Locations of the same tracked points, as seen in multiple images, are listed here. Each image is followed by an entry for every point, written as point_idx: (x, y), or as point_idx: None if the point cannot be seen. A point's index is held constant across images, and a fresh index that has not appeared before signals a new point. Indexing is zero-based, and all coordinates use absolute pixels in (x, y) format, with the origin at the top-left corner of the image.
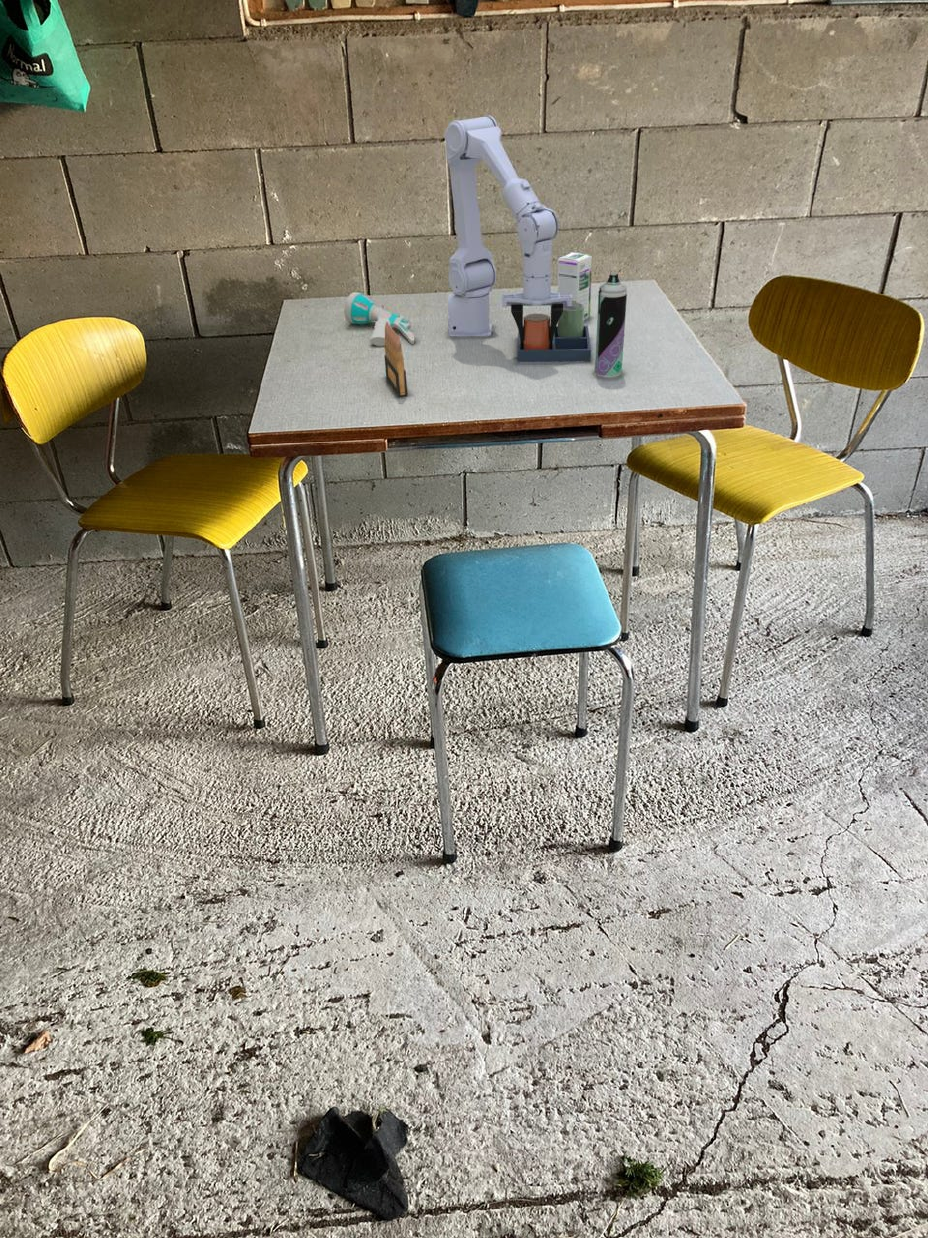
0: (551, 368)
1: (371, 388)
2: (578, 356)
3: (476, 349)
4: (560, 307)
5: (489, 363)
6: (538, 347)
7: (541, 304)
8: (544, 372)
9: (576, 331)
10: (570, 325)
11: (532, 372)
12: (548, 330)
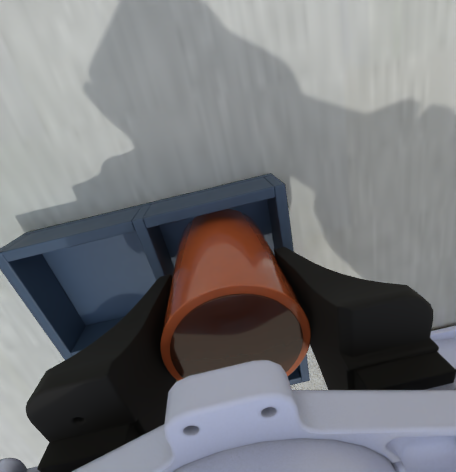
0: (140, 156)
1: None
2: (53, 232)
3: (406, 264)
4: (65, 433)
5: (366, 159)
6: (205, 226)
7: (170, 389)
8: (152, 107)
9: None
10: None
11: (198, 97)
12: (169, 296)
